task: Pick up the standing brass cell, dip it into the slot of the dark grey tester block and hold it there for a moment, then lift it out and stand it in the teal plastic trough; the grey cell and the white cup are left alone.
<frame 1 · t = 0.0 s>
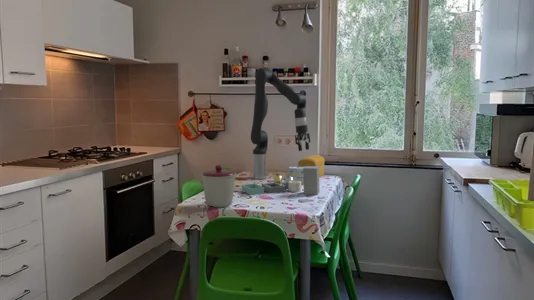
hand: (304, 150, 273), 22 cm above the table, tool pointing down, fingers open, 8 cm apart
tester block: (273, 190, 256), on the table
white cup: (294, 190, 256), on the table
light bulb box: (297, 183, 279), on the table
skincare box: (311, 193, 249), on the table
trough: (252, 192, 251), on the table
grey cell: (288, 188, 263), on the table
brass cell: (277, 186, 268), on the table
canister: (219, 205, 220), on the table
bread: (311, 177, 303), on the table
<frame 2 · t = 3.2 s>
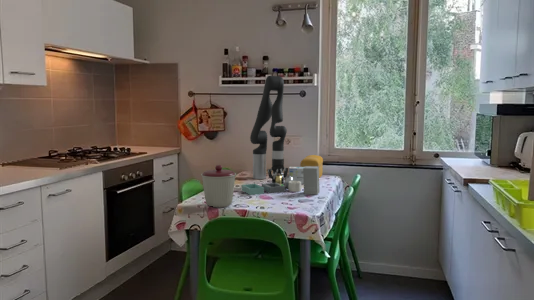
hand: (277, 184, 268), 1 cm above the table, tool pointing down, fingers closed on brass cell, 4 cm apart
brass cell: (277, 186, 268), on the table, touching gripper
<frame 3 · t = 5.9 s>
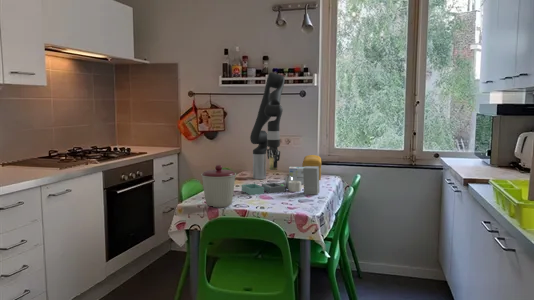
hand: (273, 166, 254), 14 cm above the table, tool pointing down, fingers closed on brass cell, 4 cm apart
brass cell: (273, 169, 254), point 13 cm above the table, touching gripper
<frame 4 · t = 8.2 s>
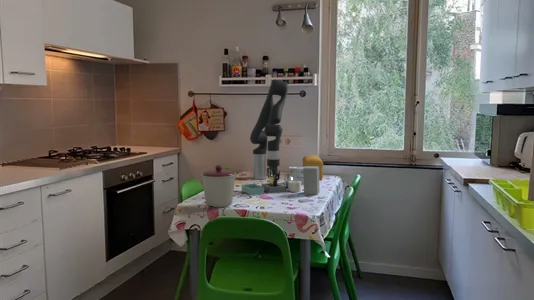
hand: (273, 186, 256), 3 cm above the table, tool pointing down, fingers closed on brass cell, 4 cm apart
brass cell: (273, 188, 256), point 1 cm above the table, touching gripper
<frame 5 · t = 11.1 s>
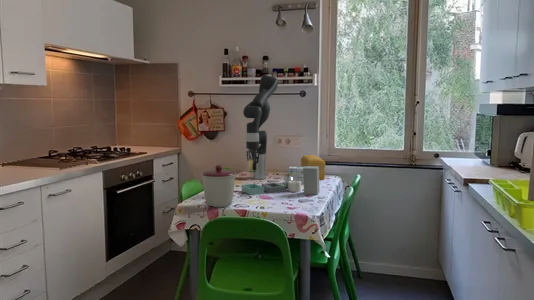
hand: (252, 169, 250), 14 cm above the table, tool pointing down, fingers closed on brass cell, 4 cm apart
brass cell: (252, 171, 250), point 12 cm above the table, touching gripper
when the fingers open (3 cm above the table, at t = 13.3 s): brass cell drops 1 cm, resting on trough.
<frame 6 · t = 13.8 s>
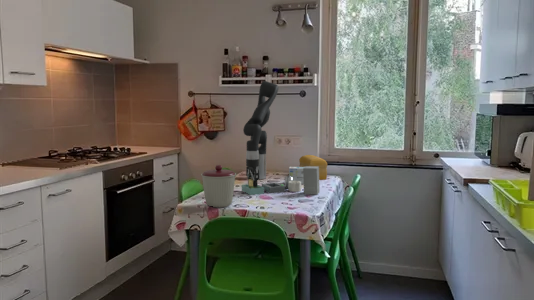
hand: (252, 185, 251), 4 cm above the table, tool pointing down, fingers open, 8 cm apart
brass cell: (252, 191, 251), point 1 cm above the table, touching trough
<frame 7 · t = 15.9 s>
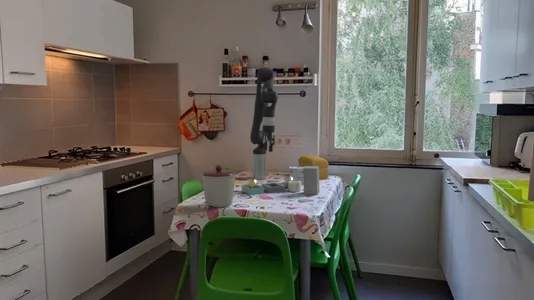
hand: (267, 150, 261), 23 cm above the table, tool pointing down, fingers open, 8 cm apart
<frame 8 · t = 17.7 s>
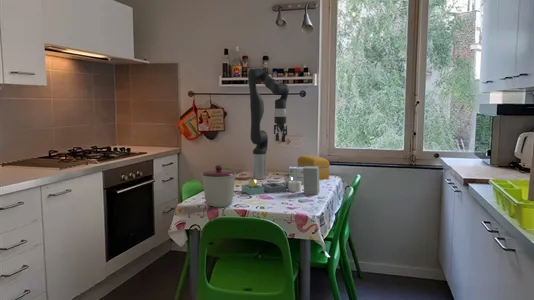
hand: (280, 141, 269), 28 cm above the table, tool pointing down, fingers open, 8 cm apart
at the end: brass cell inside the target area on the trough (0.0 cm from its centre), point 0.6 cm above the trough's base; brass cell tilted 0°; the gripper is holding nothing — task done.
